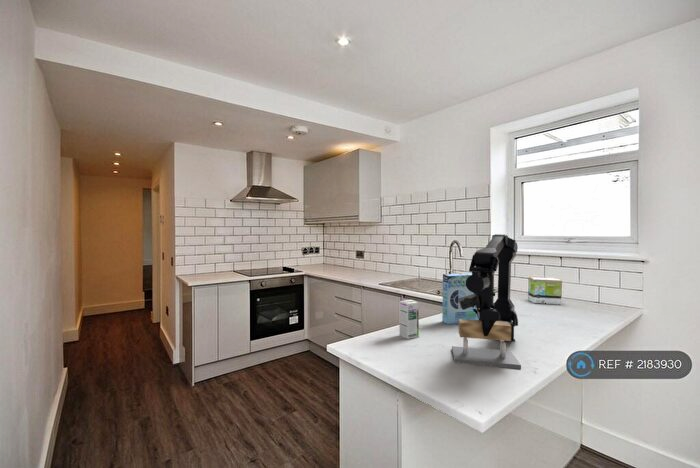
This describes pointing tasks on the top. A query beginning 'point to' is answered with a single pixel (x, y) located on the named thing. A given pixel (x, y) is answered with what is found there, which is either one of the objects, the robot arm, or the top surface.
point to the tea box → (544, 290)
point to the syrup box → (409, 319)
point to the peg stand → (485, 356)
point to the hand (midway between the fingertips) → (484, 333)
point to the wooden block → (476, 331)
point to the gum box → (455, 298)
